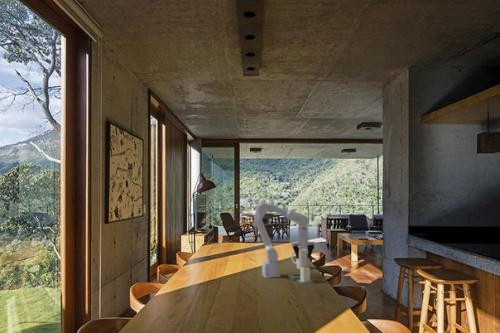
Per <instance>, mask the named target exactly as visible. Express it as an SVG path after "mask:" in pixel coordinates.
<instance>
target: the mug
mask: <svg viewBox="0 0 500 333" xmlns="http://www.w3.org/2000/svg"><path fill="white" fill-rule="evenodd" d="M294 255H296V254H295V251H294V250H293V251H292V253H291V256H290V258H291V262H292V265H293V264H294V265H296V269H298V270H300V267H307V256H308V251H307V249H305V248H299V259H297V258H296V257H295V258H296V261H295V260H294Z"/></svg>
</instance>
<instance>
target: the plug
mask: <svg viewBox="0 0 500 333" xmlns="http://www.w3.org/2000/svg"><path fill="white" fill-rule="evenodd" d="M299 270H300V271H299V273H300V280H301V281H303V282H306V281H310V280H311V268H310V267H308V266H306V267H300V269H299Z"/></svg>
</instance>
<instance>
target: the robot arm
mask: <svg viewBox="0 0 500 333" xmlns="http://www.w3.org/2000/svg"><path fill="white" fill-rule="evenodd" d="M267 212H268V213H271V212H272V213H273V212H274V213H277V214H280V215H282V216H285V217H286V219H287V220H289V221H291V222H294V223H297V224H298V226H297V228H298V229H297V230H298V232H297V233H298V237H297V238H298V242H291V245H290V246H291V247H292V249H293V251H295V254H294V255H295V258H297V259H299V249H300V247H306V248H307V258H308V259H311V258H312V257H311V256H312V253H313V251H314V249H315V246H316V242H315V241H309V227H308V226H309V225H308V224H309V217H308V216H306V215H305V214H302V212H300V213H299V212H297V211H295V209H288V210H285V209H283V208H281V207H279V206H276V205H274V204H270V203H266V202H263V201H262V202H260V203H258V204H257V206H256V207H255V212H254V216H253V219H254V220H253V221H254V223H255V226H256V228H257V231H258V233H259V235H260V238H261V240H262V243H263V245H264V248H265V251H266V257H267V259H266V260H265V261H262V263H261V269H262V271H261V276H262V277H263V278H265V279H269V278H281V277H282V275H280V272H279V253H278V252H277V250H276V249H275V248H274V246H273V244H272V240H271V239H270V236H269V234H268V232H267V229H266V227H265V224H264V221H263V219H264V216H265V215H266V214H267ZM297 259H296V260H297Z"/></svg>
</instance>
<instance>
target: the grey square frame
mask: <svg viewBox="0 0 500 333" xmlns="http://www.w3.org/2000/svg"><path fill="white" fill-rule="evenodd" d="M286 278H289V279H290V280H292V281H297V280H300V272H299V273H287V274H286Z"/></svg>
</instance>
